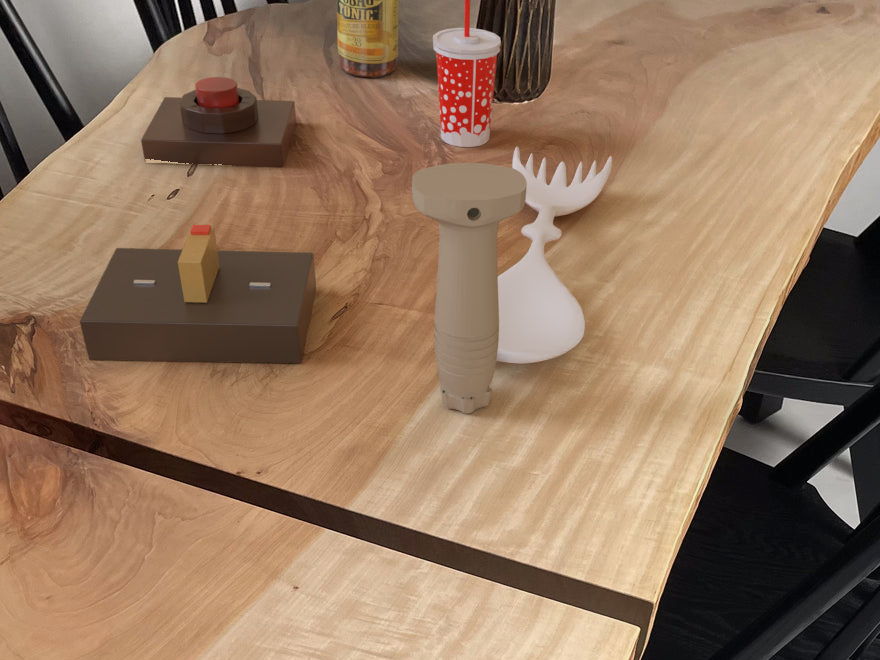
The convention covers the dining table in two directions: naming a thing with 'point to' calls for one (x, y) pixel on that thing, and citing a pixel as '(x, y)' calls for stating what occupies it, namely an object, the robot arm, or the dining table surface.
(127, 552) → the dining table surface
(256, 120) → the block
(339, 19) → the brown tonic bottle
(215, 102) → the bell button
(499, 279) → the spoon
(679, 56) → the dining table surface
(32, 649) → the dining table surface
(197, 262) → the lock knob
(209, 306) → the plate
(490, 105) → the beverage cup
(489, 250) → the handle
